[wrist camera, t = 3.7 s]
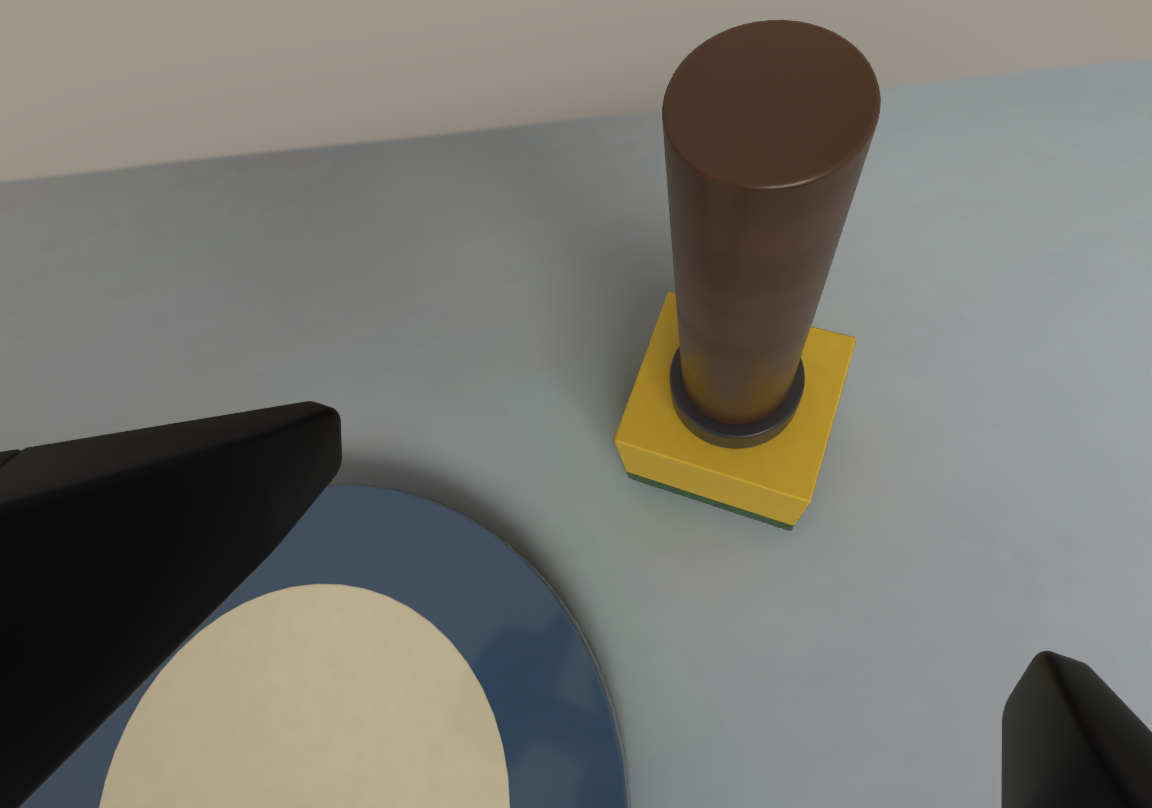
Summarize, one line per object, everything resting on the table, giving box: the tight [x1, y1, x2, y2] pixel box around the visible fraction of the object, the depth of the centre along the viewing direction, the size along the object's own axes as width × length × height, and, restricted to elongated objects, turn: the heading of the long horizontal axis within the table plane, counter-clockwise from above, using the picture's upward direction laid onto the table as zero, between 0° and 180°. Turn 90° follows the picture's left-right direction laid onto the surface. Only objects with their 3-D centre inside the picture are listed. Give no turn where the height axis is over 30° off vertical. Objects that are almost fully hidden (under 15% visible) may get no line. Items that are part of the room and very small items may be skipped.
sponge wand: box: [614, 20, 881, 530], centre depth 15 cm, size 4×5×14 cm
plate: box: [20, 485, 631, 808], centre depth 19 cm, size 18×18×1 cm
